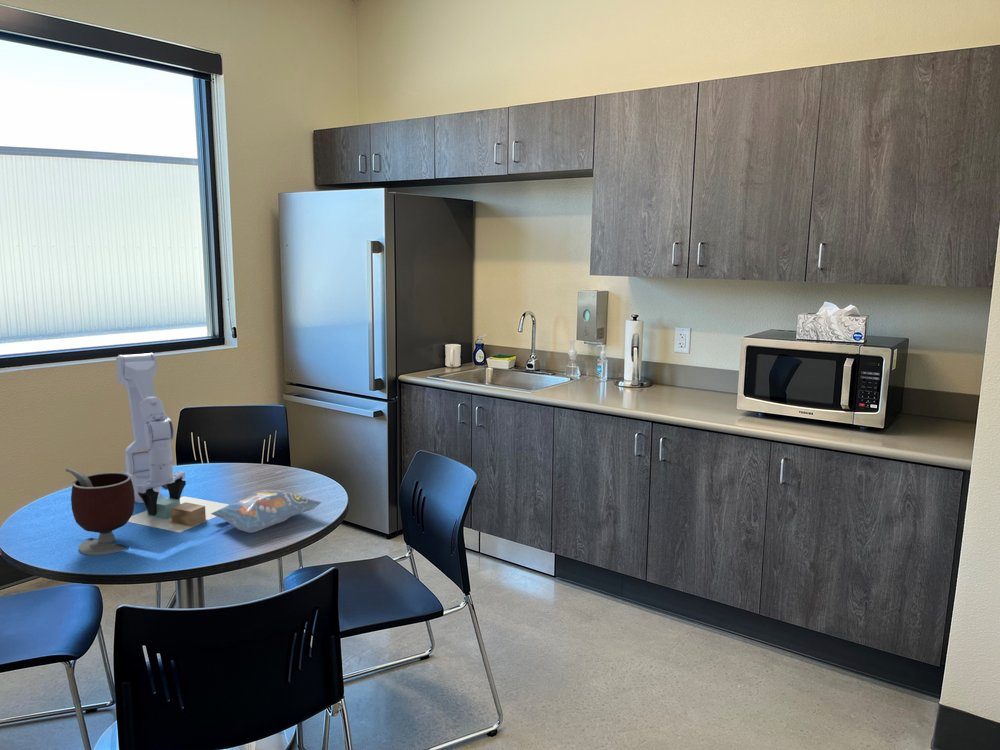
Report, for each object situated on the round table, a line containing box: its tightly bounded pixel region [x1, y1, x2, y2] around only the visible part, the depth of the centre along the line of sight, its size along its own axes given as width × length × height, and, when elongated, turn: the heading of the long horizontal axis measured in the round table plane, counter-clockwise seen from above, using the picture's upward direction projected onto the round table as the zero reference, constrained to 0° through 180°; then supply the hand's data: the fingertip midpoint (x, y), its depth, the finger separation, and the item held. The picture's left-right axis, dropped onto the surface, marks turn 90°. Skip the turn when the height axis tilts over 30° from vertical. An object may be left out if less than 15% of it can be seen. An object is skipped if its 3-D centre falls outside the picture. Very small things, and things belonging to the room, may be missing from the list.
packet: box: [211, 489, 322, 534], centre depth 200 cm, size 17×24×8 cm
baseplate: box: [127, 495, 230, 533], centre depth 203 cm, size 21×22×1 cm
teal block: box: [147, 496, 180, 519], centre depth 202 cm, size 7×5×4 cm
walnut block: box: [171, 502, 206, 526], centre depth 197 cm, size 7×5×4 cm
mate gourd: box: [65, 467, 136, 556], centre depth 182 cm, size 16×14×20 cm
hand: (163, 510), depth 202 cm, fingers open, 7 cm apart
